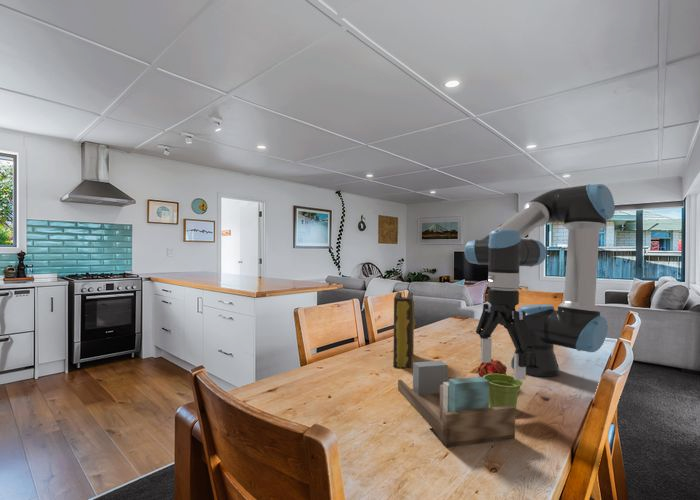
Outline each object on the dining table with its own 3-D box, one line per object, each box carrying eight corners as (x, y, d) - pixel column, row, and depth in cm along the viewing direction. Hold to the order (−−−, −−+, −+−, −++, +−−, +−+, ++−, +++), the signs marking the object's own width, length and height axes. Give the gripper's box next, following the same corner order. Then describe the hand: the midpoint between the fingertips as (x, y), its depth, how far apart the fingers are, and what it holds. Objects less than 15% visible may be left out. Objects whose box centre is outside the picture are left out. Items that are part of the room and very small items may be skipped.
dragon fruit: (499, 384, 116) (490, 401, 106) (477, 365, 119) (466, 381, 110) (515, 367, 112) (507, 384, 103) (492, 348, 116) (482, 363, 106)
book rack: (450, 388, 108) (450, 346, 107) (514, 438, 79) (515, 381, 79) (398, 393, 104) (398, 349, 104) (445, 447, 75) (446, 387, 75)
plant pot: (476, 405, 96) (477, 373, 96) (509, 404, 97) (509, 372, 97) (493, 421, 87) (493, 386, 87) (529, 420, 88) (530, 385, 88)
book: (414, 369, 124) (414, 299, 124) (389, 367, 126) (390, 298, 126) (415, 352, 146) (415, 291, 146) (394, 350, 148) (395, 291, 148)
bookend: (440, 387, 106) (441, 360, 106) (447, 392, 102) (447, 364, 102) (412, 389, 104) (413, 362, 104) (418, 394, 100) (418, 366, 100)
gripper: (464, 284, 103) (463, 356, 103) (524, 294, 79) (522, 389, 79) (487, 284, 105) (485, 355, 105) (552, 294, 81) (550, 387, 81)
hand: (501, 370), depth 92 cm, fingers open, 13 cm apart
